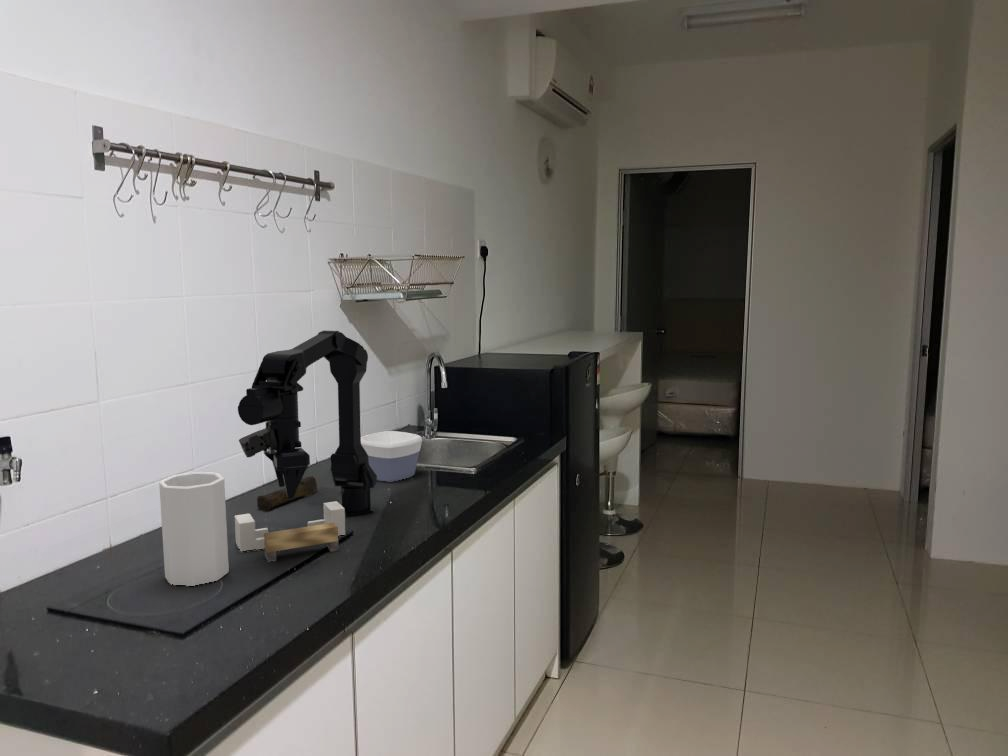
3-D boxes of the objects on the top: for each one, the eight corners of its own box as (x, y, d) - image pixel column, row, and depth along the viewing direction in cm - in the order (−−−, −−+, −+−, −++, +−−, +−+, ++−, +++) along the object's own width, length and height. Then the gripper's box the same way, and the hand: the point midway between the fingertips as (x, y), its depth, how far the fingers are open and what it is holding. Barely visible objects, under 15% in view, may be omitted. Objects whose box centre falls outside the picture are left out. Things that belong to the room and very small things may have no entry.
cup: (190, 592, 136) (184, 491, 133) (151, 579, 142) (145, 481, 139) (241, 571, 145) (237, 476, 143) (203, 560, 151) (198, 468, 149)
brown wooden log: (268, 513, 181) (267, 494, 181) (256, 510, 183) (255, 491, 183) (324, 493, 198) (324, 476, 197) (313, 491, 200) (312, 474, 199)
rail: (334, 545, 159) (333, 522, 159) (338, 550, 157) (337, 526, 156) (265, 557, 153) (264, 533, 152) (268, 562, 150) (267, 537, 149)
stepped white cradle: (337, 526, 171) (336, 500, 170) (345, 536, 165) (345, 509, 164) (235, 542, 161) (234, 515, 160) (241, 553, 155) (239, 524, 154)
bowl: (390, 466, 224) (389, 429, 223) (430, 474, 215) (429, 435, 214) (350, 477, 212) (349, 438, 210) (391, 487, 203) (390, 445, 201)
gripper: (234, 411, 158) (238, 485, 160) (248, 427, 141) (251, 510, 143) (290, 407, 163) (292, 479, 165) (309, 422, 146) (311, 502, 148)
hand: (286, 492), depth 155 cm, fingers open, 9 cm apart
